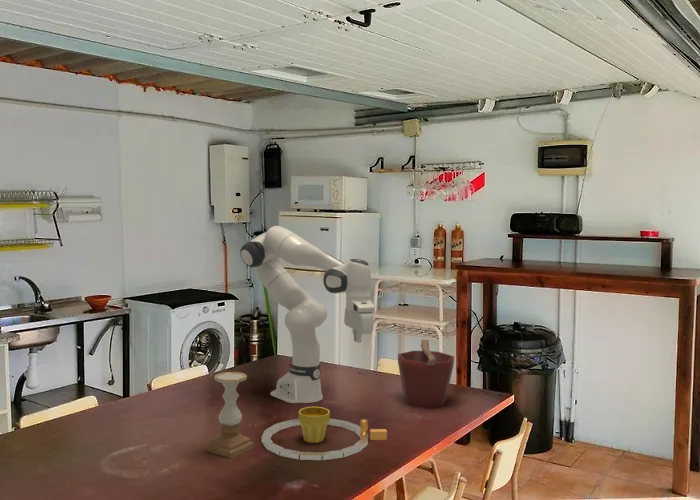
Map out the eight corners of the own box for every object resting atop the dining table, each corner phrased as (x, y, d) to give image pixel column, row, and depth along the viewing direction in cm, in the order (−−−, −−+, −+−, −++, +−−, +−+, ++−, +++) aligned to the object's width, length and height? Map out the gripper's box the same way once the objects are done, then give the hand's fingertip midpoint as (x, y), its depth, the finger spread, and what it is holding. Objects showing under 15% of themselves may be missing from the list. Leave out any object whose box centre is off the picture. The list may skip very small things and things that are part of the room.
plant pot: (324, 447, 203) (324, 417, 203) (294, 443, 206) (294, 414, 205) (332, 436, 213) (333, 407, 213) (303, 433, 216) (304, 405, 215)
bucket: (445, 414, 239) (446, 349, 238) (389, 407, 246) (390, 344, 245) (455, 396, 262) (457, 337, 261) (404, 390, 269) (405, 333, 268)
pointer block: (370, 440, 210) (370, 431, 210) (369, 437, 212) (369, 429, 212) (386, 440, 210) (387, 431, 210) (385, 437, 213) (386, 429, 212)
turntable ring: (252, 427, 219) (252, 409, 219) (345, 417, 232) (346, 400, 231) (277, 466, 187) (277, 444, 186) (384, 452, 199) (385, 432, 199)
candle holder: (231, 459, 192) (231, 382, 191) (205, 451, 198) (205, 376, 196) (254, 448, 201) (255, 374, 200) (229, 441, 207) (229, 369, 206)
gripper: (340, 300, 236) (339, 336, 237) (360, 308, 217) (359, 347, 218) (356, 299, 238) (355, 335, 239) (376, 307, 219) (376, 346, 220)
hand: (357, 341), depth 228 cm, fingers closed
